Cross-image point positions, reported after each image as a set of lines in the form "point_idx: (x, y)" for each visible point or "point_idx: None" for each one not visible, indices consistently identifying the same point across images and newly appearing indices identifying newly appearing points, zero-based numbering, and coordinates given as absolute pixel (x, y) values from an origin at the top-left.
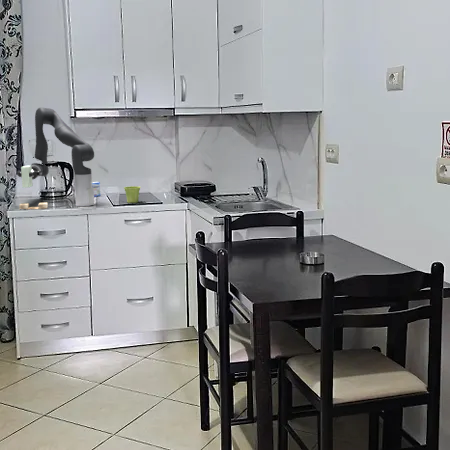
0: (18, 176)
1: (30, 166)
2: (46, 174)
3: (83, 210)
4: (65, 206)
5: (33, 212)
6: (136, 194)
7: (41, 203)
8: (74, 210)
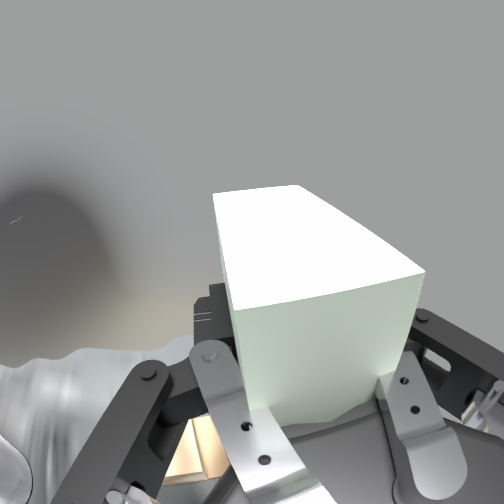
0: (438, 375)
1: (224, 261)
2: None
3: (33, 365)
4: None
5: (192, 342)
6: None
7: (180, 443)
8: (54, 370)
